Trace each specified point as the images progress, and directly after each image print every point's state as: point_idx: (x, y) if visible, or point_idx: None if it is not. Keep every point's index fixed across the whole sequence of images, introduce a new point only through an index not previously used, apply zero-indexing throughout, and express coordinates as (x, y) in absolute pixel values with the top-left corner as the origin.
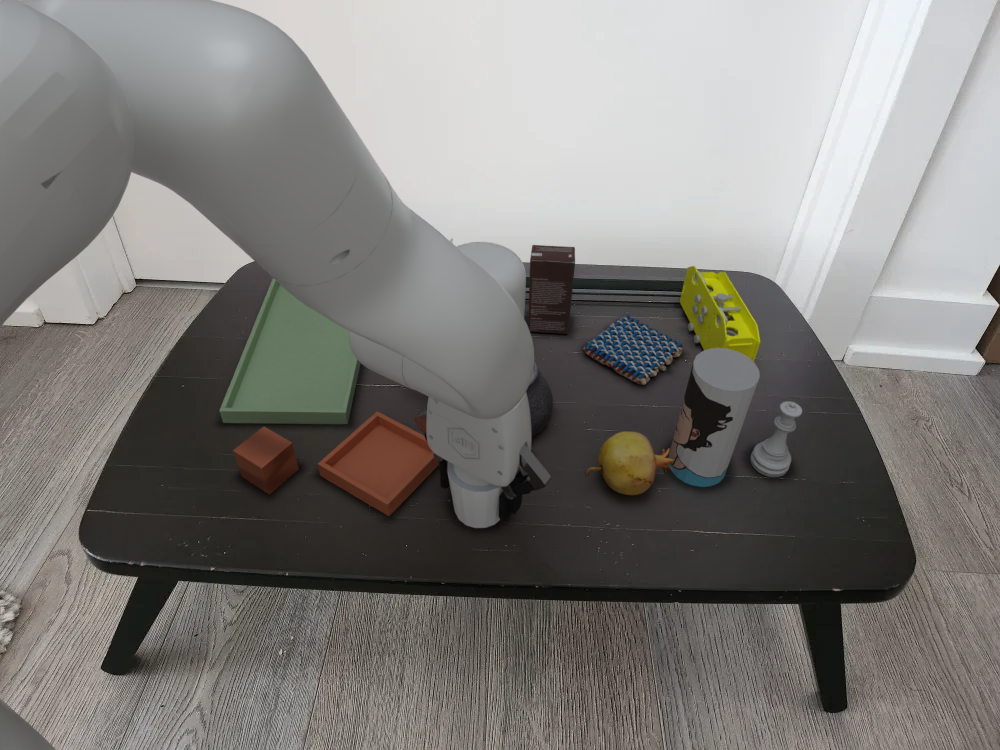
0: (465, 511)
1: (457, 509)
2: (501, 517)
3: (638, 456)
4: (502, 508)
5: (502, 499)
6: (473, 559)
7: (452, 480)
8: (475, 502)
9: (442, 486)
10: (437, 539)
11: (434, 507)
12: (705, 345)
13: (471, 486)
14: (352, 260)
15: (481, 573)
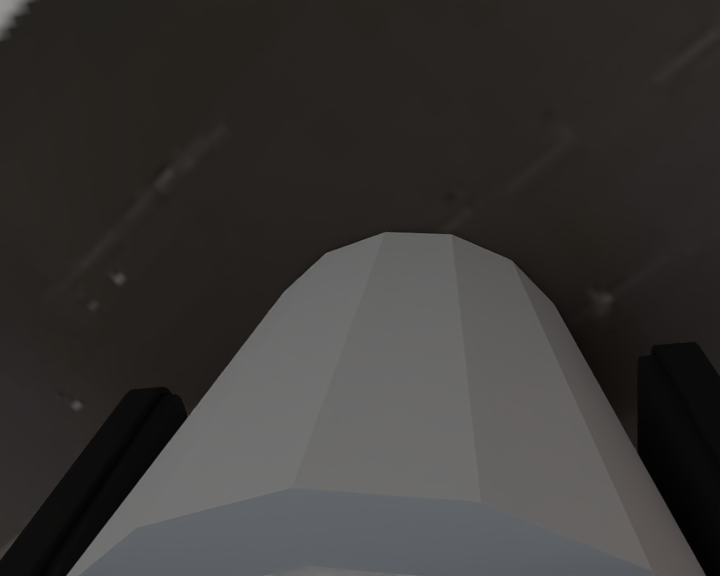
0: (353, 290)
1: (447, 271)
2: (130, 406)
3: None
4: (77, 478)
5: (9, 570)
6: (159, 74)
7: (481, 508)
8: (216, 405)
9: (681, 351)
10: (448, 15)
11: (651, 199)
12: None
13: (214, 567)
14: None
15: (46, 31)
